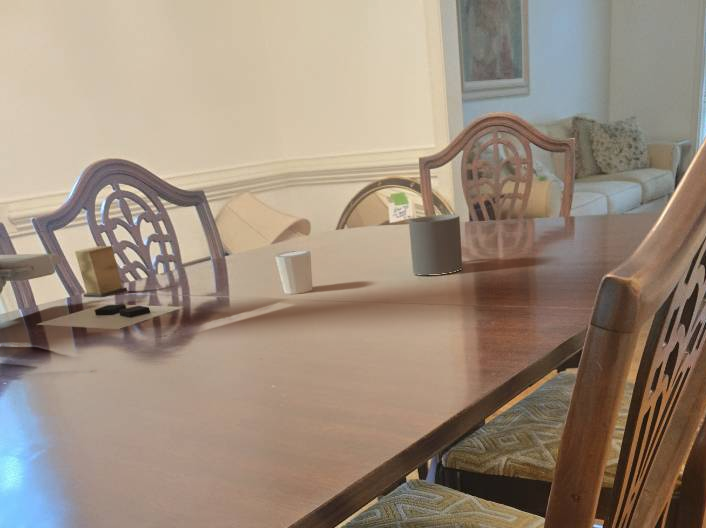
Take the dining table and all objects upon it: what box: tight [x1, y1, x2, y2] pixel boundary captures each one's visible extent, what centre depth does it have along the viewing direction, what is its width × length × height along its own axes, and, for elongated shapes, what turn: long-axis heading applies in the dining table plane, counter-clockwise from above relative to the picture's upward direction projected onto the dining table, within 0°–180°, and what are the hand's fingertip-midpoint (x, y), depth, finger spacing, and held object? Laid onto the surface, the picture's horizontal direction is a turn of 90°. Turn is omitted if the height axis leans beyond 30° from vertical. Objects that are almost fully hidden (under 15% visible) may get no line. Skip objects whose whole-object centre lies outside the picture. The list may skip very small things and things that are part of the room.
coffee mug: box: [408, 213, 463, 275], centre depth 154 cm, size 13×10×10 cm
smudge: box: [95, 304, 126, 315], centre depth 144 cm, size 4×4×1 cm
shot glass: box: [274, 250, 314, 295], centre depth 149 cm, size 7×7×7 cm
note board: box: [35, 303, 184, 330], centre depth 142 cm, size 22×16×1 cm
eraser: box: [74, 245, 128, 298], centre depth 162 cm, size 6×7×10 cm
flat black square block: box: [119, 305, 150, 318], centre depth 140 cm, size 4×4×1 cm
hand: (42, 258), depth 150 cm, fingers open, 8 cm apart
